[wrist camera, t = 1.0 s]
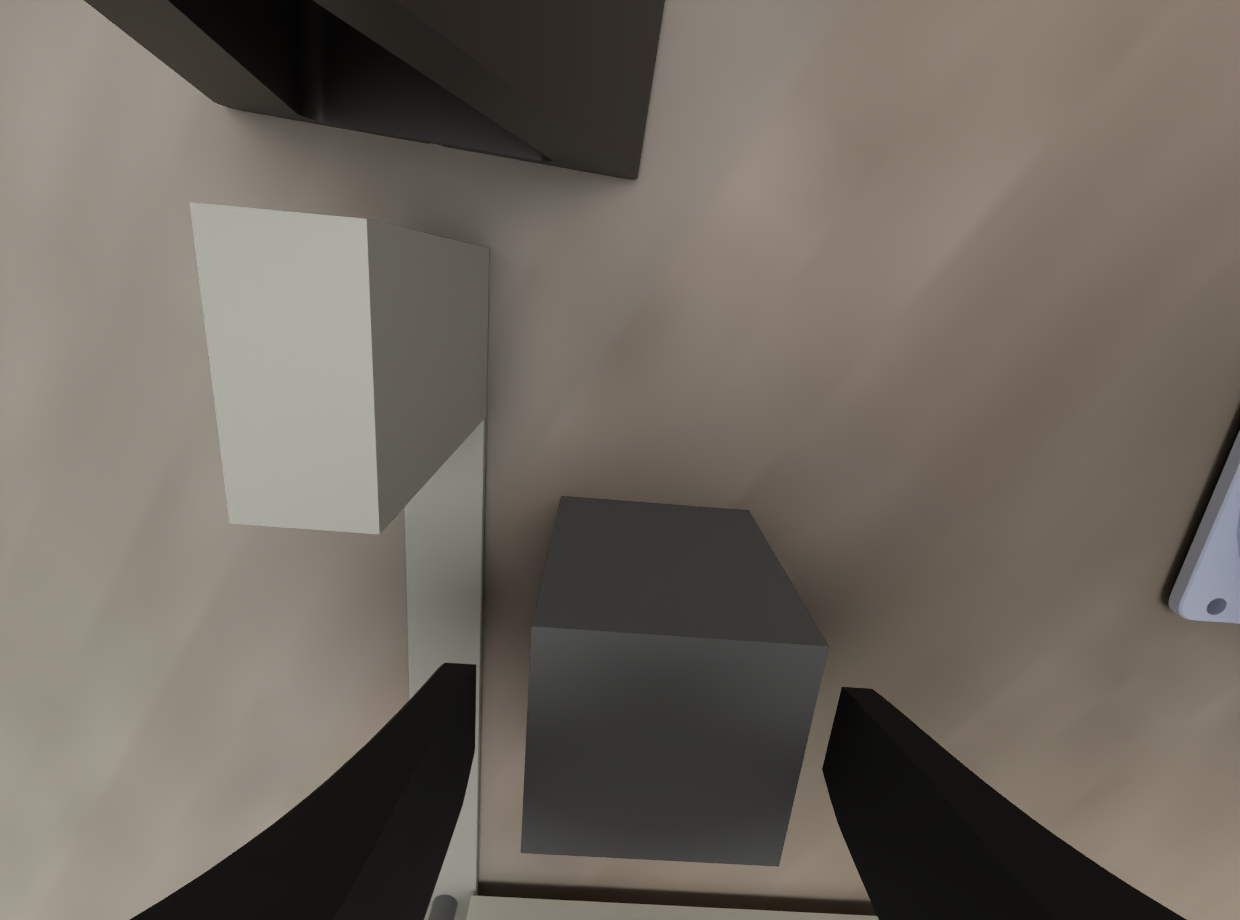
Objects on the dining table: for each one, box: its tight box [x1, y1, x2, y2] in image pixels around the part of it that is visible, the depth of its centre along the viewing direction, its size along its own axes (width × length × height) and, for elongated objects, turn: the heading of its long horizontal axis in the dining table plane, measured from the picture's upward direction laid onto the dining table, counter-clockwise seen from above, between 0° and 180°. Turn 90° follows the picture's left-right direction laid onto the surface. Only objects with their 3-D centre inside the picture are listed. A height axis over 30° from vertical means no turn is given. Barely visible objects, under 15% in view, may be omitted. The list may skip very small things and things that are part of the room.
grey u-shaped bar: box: [190, 202, 489, 920], centre depth 14 cm, size 2×26×7 cm, turn 175°
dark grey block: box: [521, 496, 829, 866], centre depth 14 cm, size 5×8×6 cm, turn 175°
